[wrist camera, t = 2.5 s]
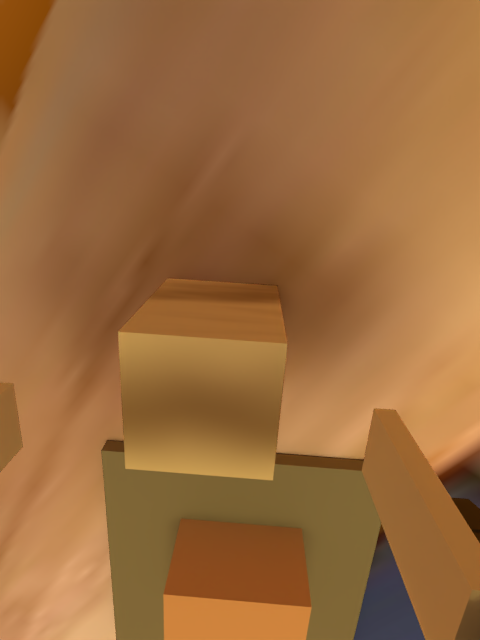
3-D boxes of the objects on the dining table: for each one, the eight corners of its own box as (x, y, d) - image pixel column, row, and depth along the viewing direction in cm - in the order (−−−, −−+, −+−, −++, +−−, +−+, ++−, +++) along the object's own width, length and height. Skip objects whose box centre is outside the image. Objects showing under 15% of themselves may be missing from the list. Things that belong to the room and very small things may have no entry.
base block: (180, 518, 26) (163, 594, 21) (301, 528, 25) (311, 607, 21) (180, 601, 28) (164, 685, 24) (289, 611, 28) (295, 697, 23)
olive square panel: (107, 440, 25) (101, 450, 24) (387, 462, 25) (393, 473, 24) (120, 626, 31) (116, 640, 30) (345, 646, 31) (348, 661, 30)
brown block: (167, 278, 21) (117, 331, 14) (277, 285, 21) (287, 344, 14) (168, 375, 23) (125, 468, 16) (268, 382, 23) (272, 480, 16)
